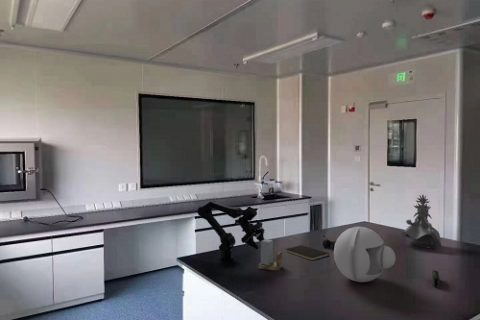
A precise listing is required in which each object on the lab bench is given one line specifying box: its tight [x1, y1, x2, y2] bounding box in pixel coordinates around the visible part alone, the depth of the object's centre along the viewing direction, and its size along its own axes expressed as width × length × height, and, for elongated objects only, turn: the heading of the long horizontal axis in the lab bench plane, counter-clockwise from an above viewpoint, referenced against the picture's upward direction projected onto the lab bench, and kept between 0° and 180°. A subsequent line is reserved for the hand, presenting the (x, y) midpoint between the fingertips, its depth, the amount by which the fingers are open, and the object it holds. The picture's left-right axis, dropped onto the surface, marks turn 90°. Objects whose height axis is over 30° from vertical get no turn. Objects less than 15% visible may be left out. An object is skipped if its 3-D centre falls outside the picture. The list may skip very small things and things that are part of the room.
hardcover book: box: [284, 244, 330, 261], centre depth 231 cm, size 16×23×2 cm
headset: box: [321, 234, 337, 252], centre depth 242 cm, size 13×9×19 cm
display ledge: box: [257, 250, 283, 272], centre depth 205 cm, size 12×8×9 cm, turn 69°
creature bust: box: [401, 194, 442, 249], centre depth 244 cm, size 24×23×35 cm
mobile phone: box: [431, 269, 441, 290], centre depth 179 cm, size 5×3×15 cm
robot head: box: [333, 226, 397, 283], centre depth 183 cm, size 28×30×28 cm
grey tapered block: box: [260, 238, 274, 265], centre depth 206 cm, size 5×6×13 cm
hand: (261, 246), depth 207 cm, fingers open, 9 cm apart
